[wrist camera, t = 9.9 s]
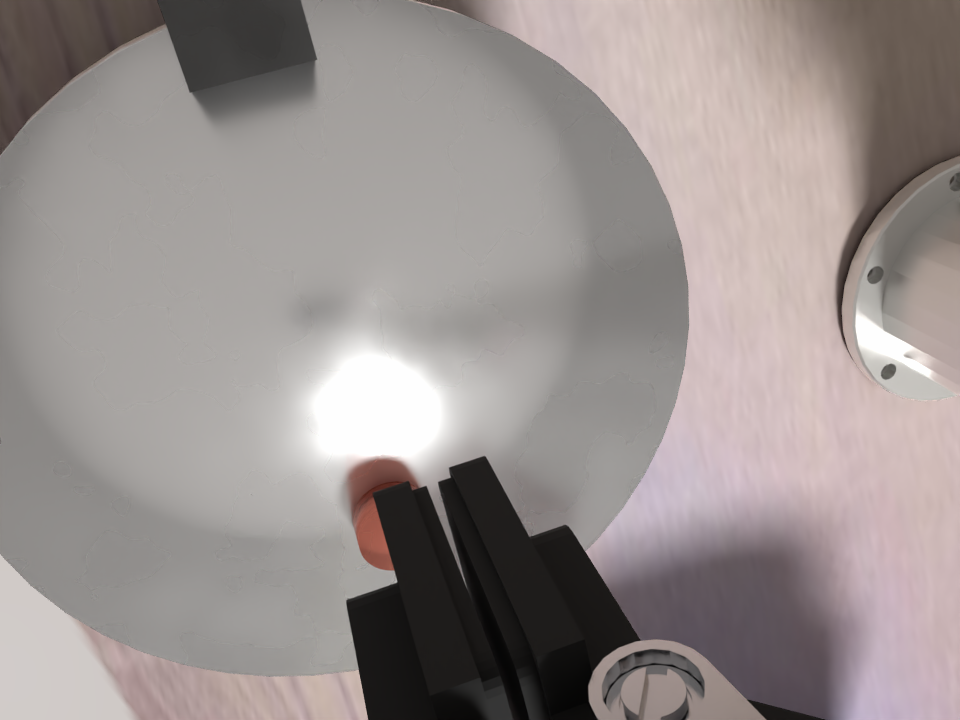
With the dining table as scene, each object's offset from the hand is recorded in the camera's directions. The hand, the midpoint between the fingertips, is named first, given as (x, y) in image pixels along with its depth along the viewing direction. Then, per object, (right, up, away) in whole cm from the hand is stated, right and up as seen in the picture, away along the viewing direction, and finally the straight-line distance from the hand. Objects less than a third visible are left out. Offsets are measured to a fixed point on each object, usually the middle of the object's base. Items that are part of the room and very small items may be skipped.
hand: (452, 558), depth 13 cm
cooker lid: (-4, +4, +13) cm, 14 cm away
